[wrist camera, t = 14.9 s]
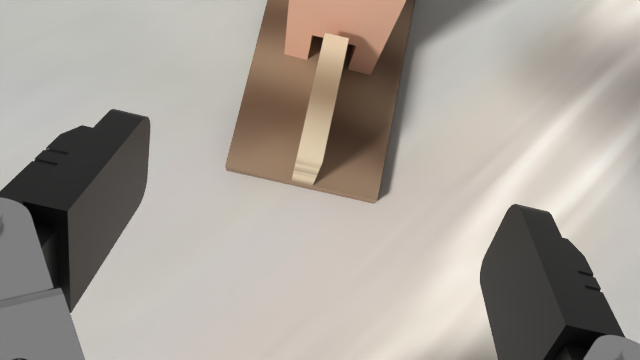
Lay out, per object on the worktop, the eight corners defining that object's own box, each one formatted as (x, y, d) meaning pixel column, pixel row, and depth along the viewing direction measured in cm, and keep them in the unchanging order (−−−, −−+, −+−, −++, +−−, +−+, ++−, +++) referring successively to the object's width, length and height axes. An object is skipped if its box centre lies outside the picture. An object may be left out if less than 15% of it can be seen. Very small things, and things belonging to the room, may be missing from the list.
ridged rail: (373, 203, 37) (399, 180, 30) (226, 170, 36) (217, 139, 29) (421, -54, 42) (454, -125, 35) (291, -86, 41) (297, -166, 34)
